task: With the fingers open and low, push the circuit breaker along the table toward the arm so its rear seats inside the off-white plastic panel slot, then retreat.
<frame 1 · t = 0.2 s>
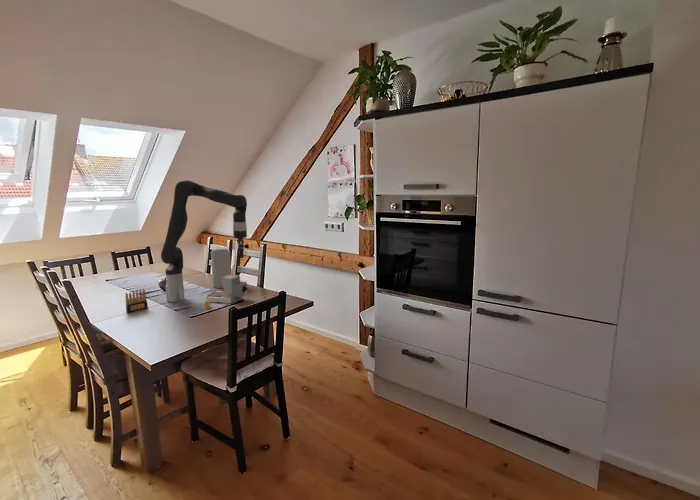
hand: (241, 256, 213), 29 cm above the table, fingers open, 8 cm apart
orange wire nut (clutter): (207, 307, 210), on the table
panel slot: (224, 299, 224), on the table
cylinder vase: (222, 286, 253), on the table
circuit breaker: (236, 300, 223), on the table
ammunition clip: (137, 311, 204), on the table
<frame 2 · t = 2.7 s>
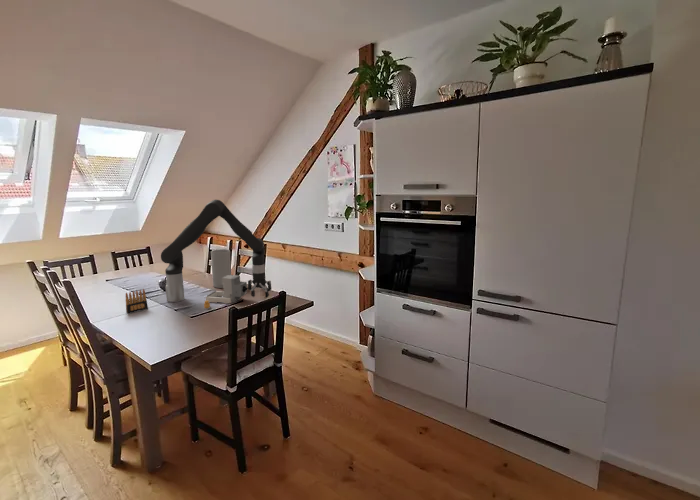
hand: (260, 296, 220), 3 cm above the table, fingers open, 8 cm apart
nothing on the table moved.
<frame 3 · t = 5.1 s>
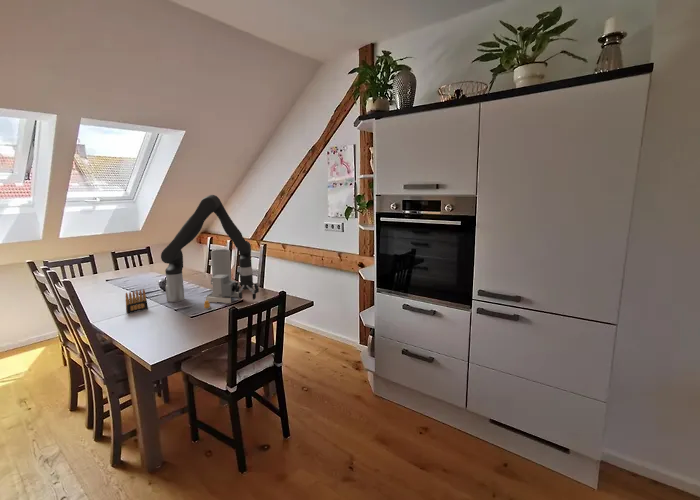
hand: (247, 298, 222), 1 cm above the table, fingers open, 8 cm apart
circuit breaker: (226, 299, 224), resting in panel slot, touching hand
everything else where it was.
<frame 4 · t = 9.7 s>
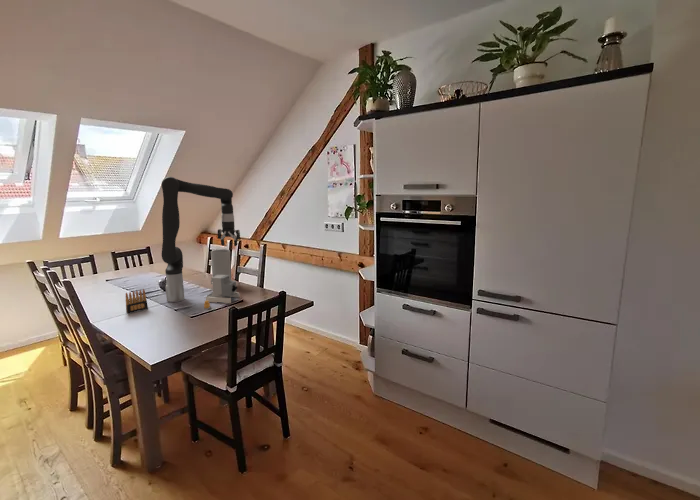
hand: (229, 245, 230), 32 cm above the table, fingers open, 8 cm apart
circuit breaker: (226, 300, 224), resting in panel slot
everything else where it was.
at the end: circuit breaker inside the target area (1.2 cm from its centre), resting in panel slot; circuit breaker tilted 0°; circuit breaker moved 6.8 cm from its start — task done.
